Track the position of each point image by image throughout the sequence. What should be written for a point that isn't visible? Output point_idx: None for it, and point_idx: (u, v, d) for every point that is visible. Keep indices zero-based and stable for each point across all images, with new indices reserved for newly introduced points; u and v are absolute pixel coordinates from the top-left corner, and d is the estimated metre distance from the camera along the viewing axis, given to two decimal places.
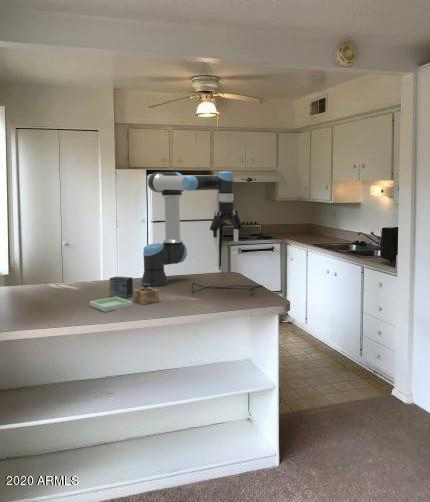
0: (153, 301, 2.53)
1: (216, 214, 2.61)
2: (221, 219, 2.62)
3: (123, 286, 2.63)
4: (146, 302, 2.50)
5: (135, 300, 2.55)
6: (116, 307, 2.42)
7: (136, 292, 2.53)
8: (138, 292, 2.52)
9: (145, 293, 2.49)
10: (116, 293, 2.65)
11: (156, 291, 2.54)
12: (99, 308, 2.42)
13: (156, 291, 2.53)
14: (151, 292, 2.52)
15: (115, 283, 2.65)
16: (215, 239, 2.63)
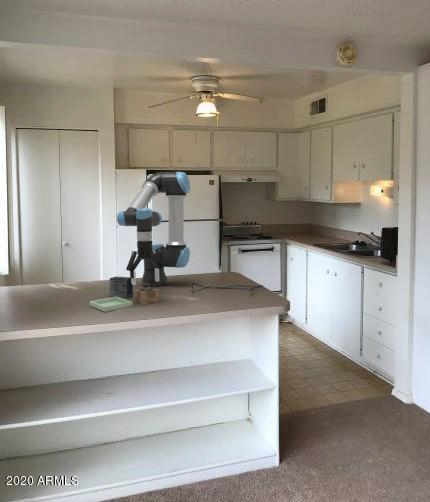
0: (153, 301, 2.53)
1: (133, 254, 2.47)
2: (138, 259, 2.49)
3: (123, 286, 2.63)
4: (146, 302, 2.50)
5: (135, 300, 2.55)
6: (116, 307, 2.42)
7: (136, 292, 2.53)
8: (138, 292, 2.52)
9: (145, 293, 2.49)
10: (116, 293, 2.65)
11: (156, 291, 2.54)
12: (99, 308, 2.42)
13: (156, 291, 2.53)
14: (151, 292, 2.52)
15: (115, 283, 2.65)
16: (132, 280, 2.49)
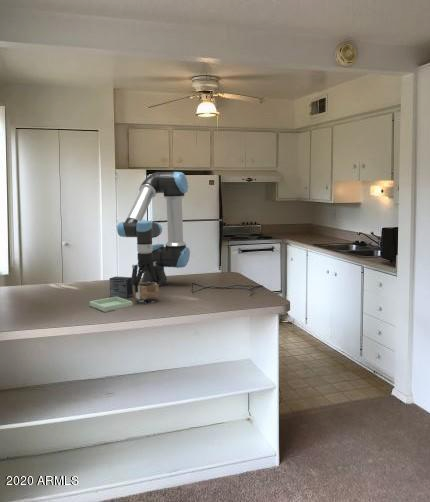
0: (153, 296, 2.53)
1: (134, 268, 2.49)
2: (140, 272, 2.51)
3: (123, 286, 2.63)
4: (146, 297, 2.50)
5: (135, 295, 2.55)
6: (116, 307, 2.42)
7: None
8: None
9: (145, 288, 2.49)
10: (116, 293, 2.65)
11: (156, 286, 2.53)
12: (99, 308, 2.42)
13: (156, 285, 2.53)
14: (151, 287, 2.52)
15: (115, 283, 2.65)
16: (137, 294, 2.52)
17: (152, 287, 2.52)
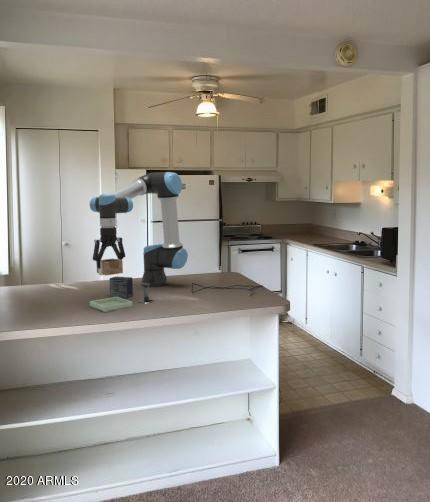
0: (116, 272, 2.44)
1: (96, 243, 2.40)
2: (103, 247, 2.42)
3: (123, 286, 2.63)
4: (109, 273, 2.41)
5: (98, 271, 2.46)
6: (116, 307, 2.42)
7: None
8: None
9: (107, 263, 2.40)
10: (116, 293, 2.65)
11: (119, 262, 2.44)
12: (99, 308, 2.42)
13: (119, 261, 2.44)
14: (114, 263, 2.42)
15: (115, 283, 2.65)
16: (99, 270, 2.43)
17: (115, 263, 2.43)
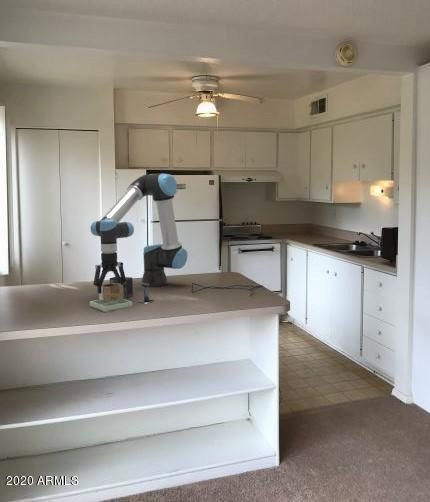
0: (117, 297, 2.45)
1: (97, 268, 2.41)
2: (104, 272, 2.43)
3: (123, 286, 2.63)
4: (109, 298, 2.43)
5: None
6: (116, 307, 2.42)
7: None
8: None
9: (108, 289, 2.42)
10: None
11: (120, 287, 2.46)
12: (99, 308, 2.42)
13: (120, 286, 2.46)
14: (115, 288, 2.44)
15: None
16: (100, 295, 2.45)
17: (116, 288, 2.44)
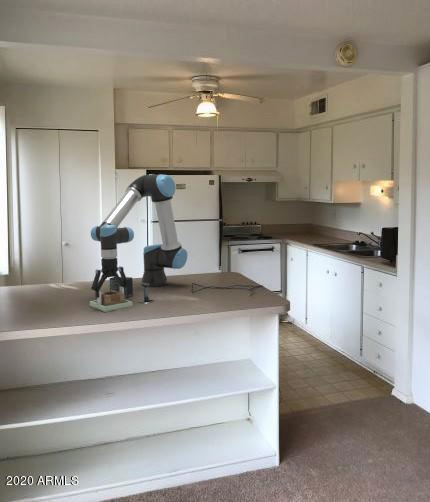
0: None
1: (97, 273, 2.42)
2: (103, 277, 2.43)
3: None
4: None
5: None
6: (116, 307, 2.42)
7: None
8: (102, 296, 2.45)
9: (109, 297, 2.42)
10: None
11: (121, 295, 2.47)
12: (99, 308, 2.42)
13: (120, 294, 2.46)
14: (115, 296, 2.45)
15: (115, 283, 2.65)
16: (98, 299, 2.44)
17: (116, 296, 2.45)
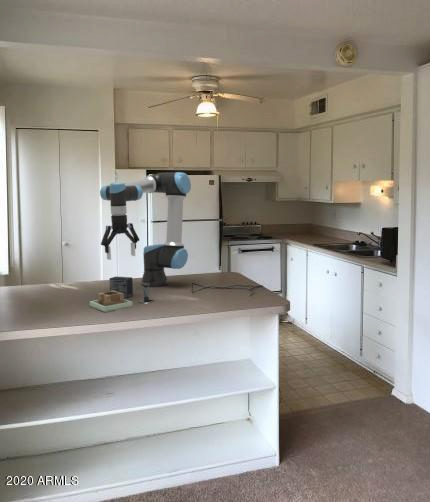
0: None
1: (107, 228, 2.46)
2: (113, 233, 2.48)
3: (123, 286, 2.63)
4: None
5: None
6: (116, 307, 2.42)
7: (100, 296, 2.46)
8: (102, 296, 2.45)
9: (109, 297, 2.42)
10: None
11: (121, 295, 2.47)
12: (99, 308, 2.42)
13: (120, 294, 2.46)
14: (115, 296, 2.45)
15: (115, 283, 2.65)
16: (107, 254, 2.49)
17: (116, 296, 2.45)
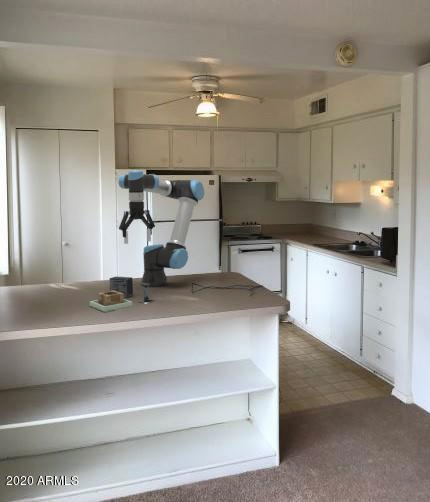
0: None
1: (125, 213, 2.57)
2: (131, 219, 2.59)
3: (123, 286, 2.63)
4: None
5: None
6: (116, 307, 2.42)
7: (100, 296, 2.46)
8: (102, 296, 2.45)
9: (109, 297, 2.42)
10: None
11: (121, 295, 2.47)
12: (99, 308, 2.42)
13: (120, 294, 2.46)
14: (115, 296, 2.45)
15: (115, 283, 2.65)
16: (125, 239, 2.59)
17: (116, 296, 2.45)
